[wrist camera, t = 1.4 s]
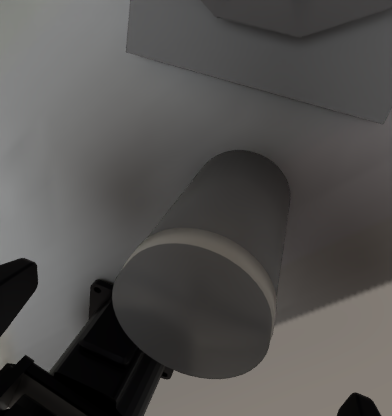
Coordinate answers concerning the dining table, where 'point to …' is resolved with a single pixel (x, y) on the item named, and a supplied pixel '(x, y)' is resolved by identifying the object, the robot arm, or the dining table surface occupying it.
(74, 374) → the robot arm
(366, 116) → the grey notched ring
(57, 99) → the dining table surface
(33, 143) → the dining table surface
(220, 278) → the grey cylinder
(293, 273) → the dining table surface
